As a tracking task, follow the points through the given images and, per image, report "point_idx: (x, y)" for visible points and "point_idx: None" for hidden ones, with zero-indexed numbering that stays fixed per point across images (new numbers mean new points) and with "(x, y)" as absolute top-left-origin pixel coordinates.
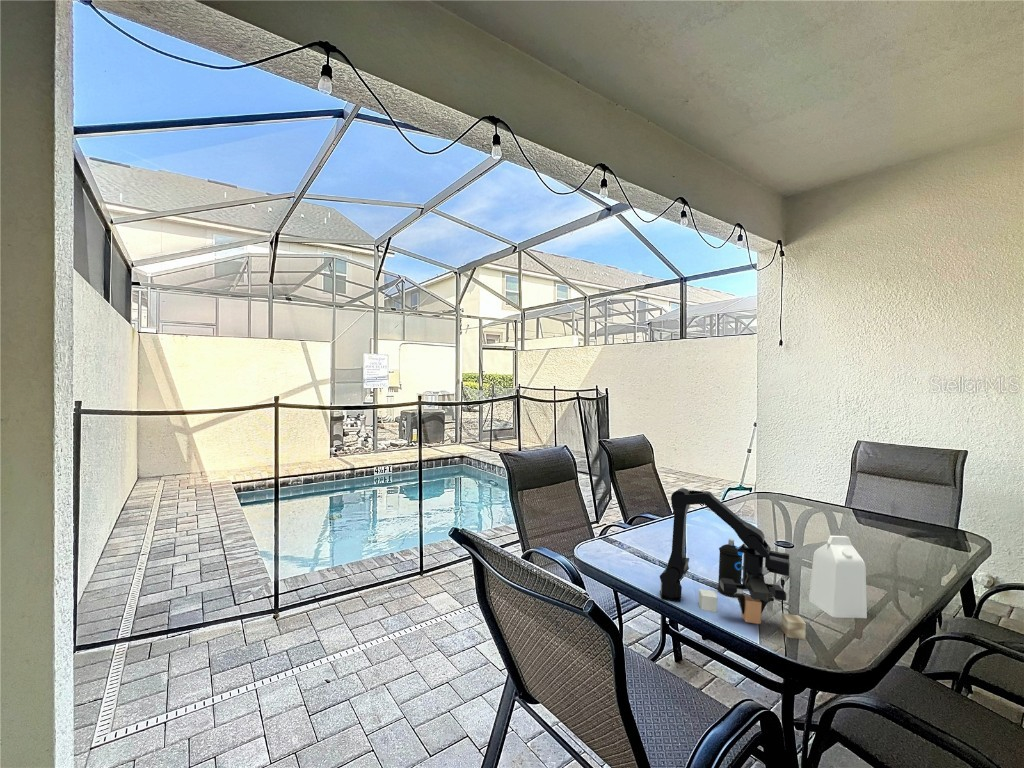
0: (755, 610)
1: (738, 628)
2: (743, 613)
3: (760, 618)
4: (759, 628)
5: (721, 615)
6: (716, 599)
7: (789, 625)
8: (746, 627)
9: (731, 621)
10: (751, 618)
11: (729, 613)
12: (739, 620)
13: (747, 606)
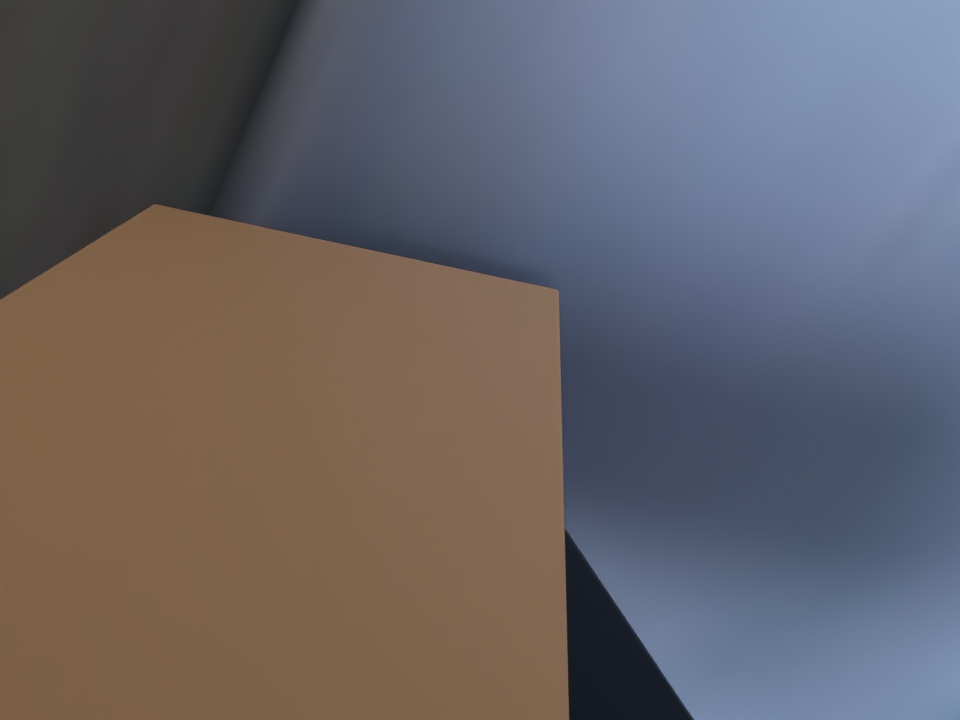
0: (143, 425)
1: (937, 10)
2: None
3: (84, 255)
4: (258, 76)
5: (946, 611)
6: None
7: None
8: (630, 97)
9: (877, 375)
10: (383, 303)
11: (677, 685)
12: (615, 431)
13: (501, 594)
